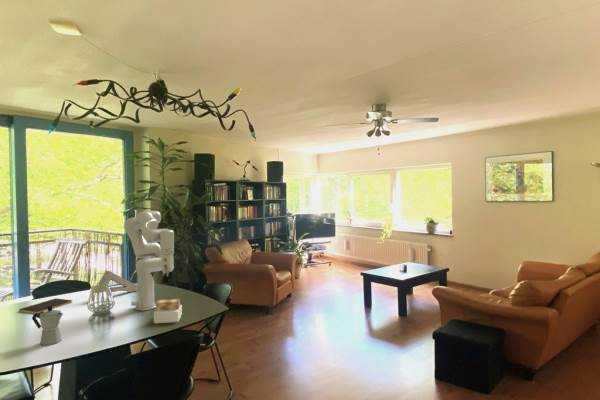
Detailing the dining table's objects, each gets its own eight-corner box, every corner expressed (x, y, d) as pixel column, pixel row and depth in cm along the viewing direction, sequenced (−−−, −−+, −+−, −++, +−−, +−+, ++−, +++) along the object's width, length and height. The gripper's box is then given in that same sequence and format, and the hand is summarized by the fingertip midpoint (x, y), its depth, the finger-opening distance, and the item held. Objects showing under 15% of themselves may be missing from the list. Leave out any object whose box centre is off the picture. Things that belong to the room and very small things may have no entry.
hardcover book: (72, 303, 235) (72, 300, 235) (37, 315, 213) (37, 311, 213) (55, 301, 240) (55, 298, 239) (19, 312, 218) (19, 308, 218)
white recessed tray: (153, 323, 195) (153, 312, 195) (159, 316, 207) (159, 306, 207) (178, 322, 197) (177, 311, 197) (181, 314, 209) (181, 304, 209)
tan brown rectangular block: (156, 317, 199) (156, 302, 199) (158, 314, 204) (158, 300, 204) (178, 316, 201) (178, 301, 200) (179, 313, 205) (179, 299, 205)
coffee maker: (69, 338, 176) (68, 302, 176) (58, 345, 167) (57, 308, 167) (39, 338, 176) (38, 303, 175) (26, 346, 167) (25, 309, 167)
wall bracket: (126, 316, 254) (91, 301, 232) (122, 315, 256) (87, 300, 235) (141, 287, 264) (109, 271, 243) (138, 287, 267) (105, 270, 245)
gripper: (170, 253, 193) (171, 284, 194) (177, 248, 211) (177, 277, 211) (156, 254, 192) (157, 285, 193) (163, 249, 209) (164, 277, 210)
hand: (167, 280), depth 202 cm, fingers open, 9 cm apart
